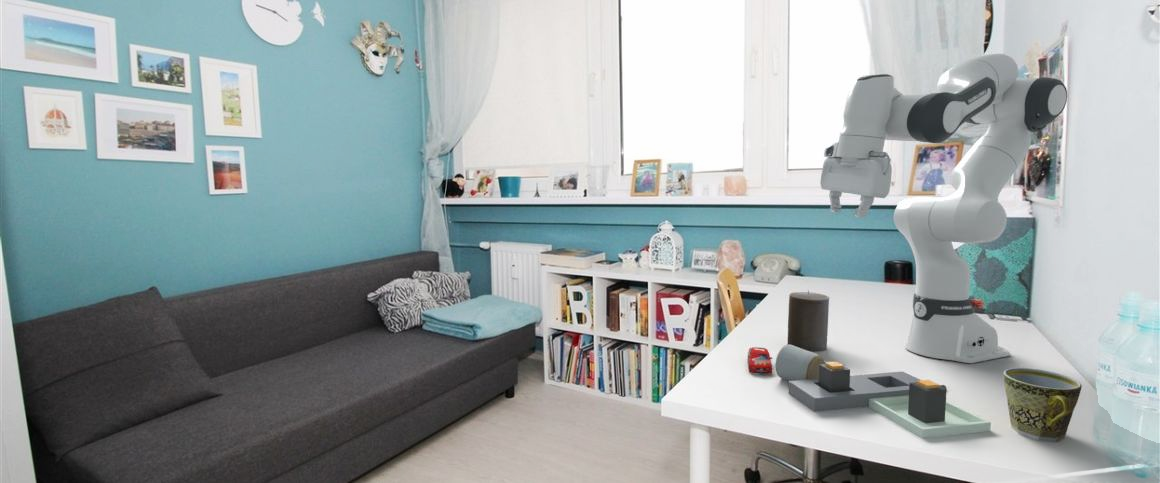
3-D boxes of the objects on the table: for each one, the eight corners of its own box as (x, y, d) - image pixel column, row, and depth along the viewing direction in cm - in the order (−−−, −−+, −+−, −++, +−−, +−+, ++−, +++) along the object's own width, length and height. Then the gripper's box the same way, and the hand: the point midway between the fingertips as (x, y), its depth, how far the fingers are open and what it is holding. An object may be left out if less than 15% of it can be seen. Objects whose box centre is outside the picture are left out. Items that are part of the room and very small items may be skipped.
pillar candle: (788, 350, 139) (790, 293, 137) (785, 339, 148) (787, 286, 147) (829, 354, 136) (832, 295, 135) (824, 342, 146) (826, 287, 144)
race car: (773, 378, 121) (773, 361, 121) (747, 376, 123) (748, 359, 122) (770, 359, 134) (770, 343, 133) (747, 357, 135) (747, 341, 135)
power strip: (926, 382, 116) (928, 348, 115) (962, 399, 107) (964, 362, 106) (788, 395, 111) (789, 359, 110) (814, 413, 102) (815, 374, 101)
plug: (927, 412, 101) (928, 377, 100) (944, 421, 97) (946, 385, 96) (907, 414, 100) (909, 379, 99) (925, 423, 96) (926, 387, 95)
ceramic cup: (989, 418, 98) (993, 365, 97) (1056, 425, 96) (1060, 370, 94) (1025, 453, 86) (1029, 393, 85) (1102, 461, 83) (1108, 399, 82)
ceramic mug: (808, 392, 112) (810, 356, 111) (773, 381, 119) (775, 347, 118) (835, 381, 118) (837, 347, 117) (801, 371, 125) (802, 338, 124)
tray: (929, 402, 106) (929, 392, 106) (990, 432, 93) (990, 422, 93) (868, 408, 104) (868, 398, 104) (922, 440, 91) (922, 429, 91)
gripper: (905, 153, 107) (891, 222, 109) (845, 152, 127) (834, 210, 129) (876, 150, 106) (862, 219, 109) (820, 149, 126) (809, 207, 129)
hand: (847, 214), depth 119 cm, fingers open, 8 cm apart
